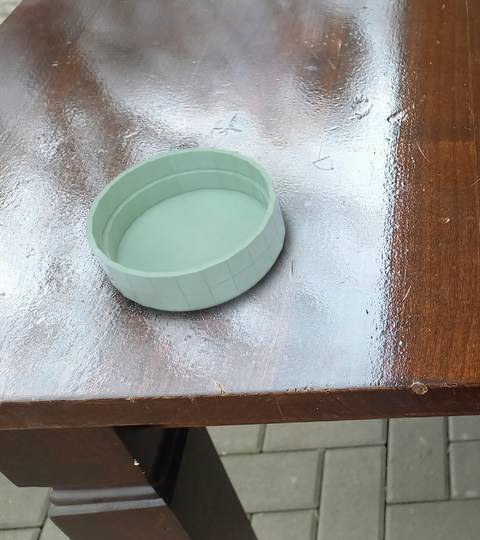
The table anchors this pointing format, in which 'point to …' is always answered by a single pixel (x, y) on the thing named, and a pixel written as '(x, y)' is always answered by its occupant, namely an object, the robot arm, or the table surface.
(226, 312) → the table surface
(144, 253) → the bowl
